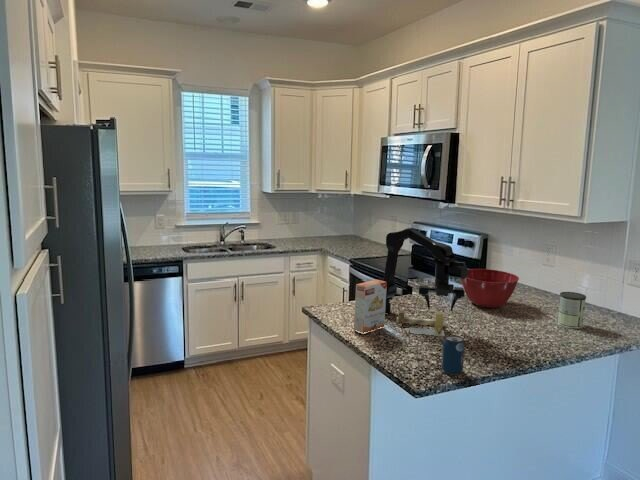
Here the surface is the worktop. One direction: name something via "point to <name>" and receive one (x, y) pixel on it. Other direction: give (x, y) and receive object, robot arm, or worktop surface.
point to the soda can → (453, 355)
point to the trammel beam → (414, 320)
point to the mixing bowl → (489, 287)
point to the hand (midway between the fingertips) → (440, 310)
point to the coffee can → (571, 310)
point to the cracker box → (370, 305)
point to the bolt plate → (427, 331)
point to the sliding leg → (438, 320)
